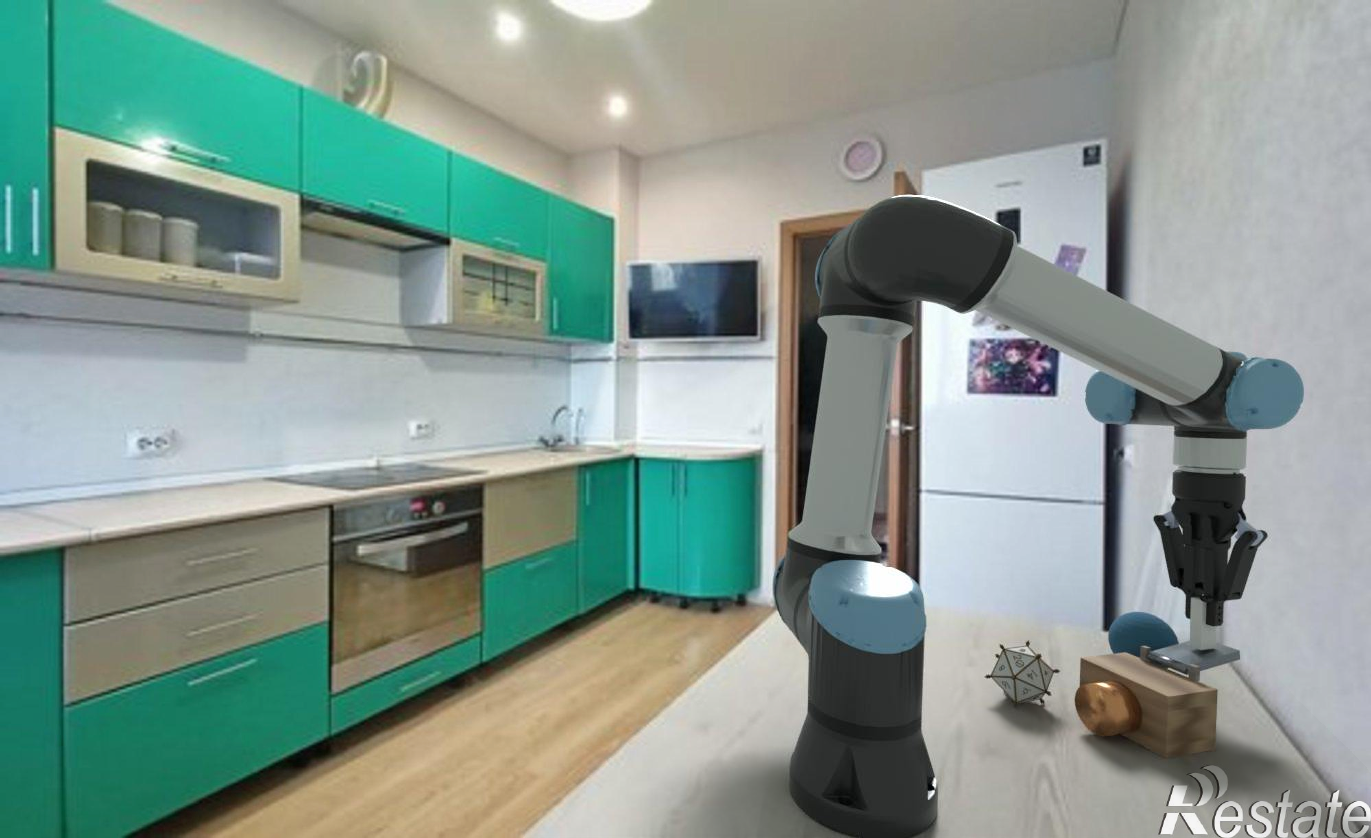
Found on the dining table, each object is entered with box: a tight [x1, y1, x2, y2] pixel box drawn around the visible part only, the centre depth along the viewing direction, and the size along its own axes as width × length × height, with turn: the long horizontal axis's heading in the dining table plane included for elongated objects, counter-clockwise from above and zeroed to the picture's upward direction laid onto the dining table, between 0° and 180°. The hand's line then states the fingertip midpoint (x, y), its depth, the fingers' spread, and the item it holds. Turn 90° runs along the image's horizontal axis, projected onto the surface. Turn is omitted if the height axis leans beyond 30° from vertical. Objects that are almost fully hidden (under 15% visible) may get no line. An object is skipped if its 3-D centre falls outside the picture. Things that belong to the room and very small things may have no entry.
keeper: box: [1148, 640, 1241, 676], centre depth 86 cm, size 10×5×1 cm, turn 106°
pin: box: [1074, 681, 1142, 737], centre depth 84 cm, size 16×6×6 cm, turn 106°
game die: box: [984, 640, 1061, 710], centre depth 91 cm, size 9×8×10 cm
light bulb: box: [1107, 611, 1180, 670], centre depth 93 cm, size 8×8×12 cm
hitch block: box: [1079, 646, 1219, 759], centre depth 84 cm, size 8×12×9 cm
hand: (1202, 646), depth 86 cm, fingers closed
